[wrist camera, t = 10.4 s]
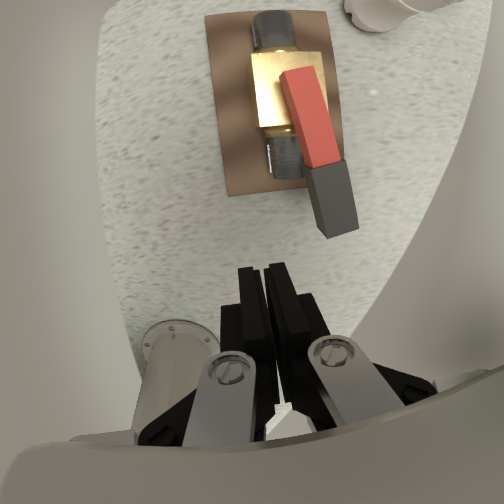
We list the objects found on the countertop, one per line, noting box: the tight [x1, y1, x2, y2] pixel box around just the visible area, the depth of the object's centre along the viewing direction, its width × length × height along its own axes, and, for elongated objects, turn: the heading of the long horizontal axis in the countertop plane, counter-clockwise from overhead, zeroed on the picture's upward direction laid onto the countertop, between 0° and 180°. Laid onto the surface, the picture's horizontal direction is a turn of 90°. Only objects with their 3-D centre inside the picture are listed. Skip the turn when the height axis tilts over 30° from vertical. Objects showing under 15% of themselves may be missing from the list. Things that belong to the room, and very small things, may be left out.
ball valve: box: [246, 10, 329, 180], centre depth 26 cm, size 18×6×6 cm, turn 7°
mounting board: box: [205, 10, 344, 197], centre depth 29 cm, size 22×14×2 cm, turn 7°
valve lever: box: [279, 65, 359, 239], centre depth 23 cm, size 3×14×4 cm, turn 18°
